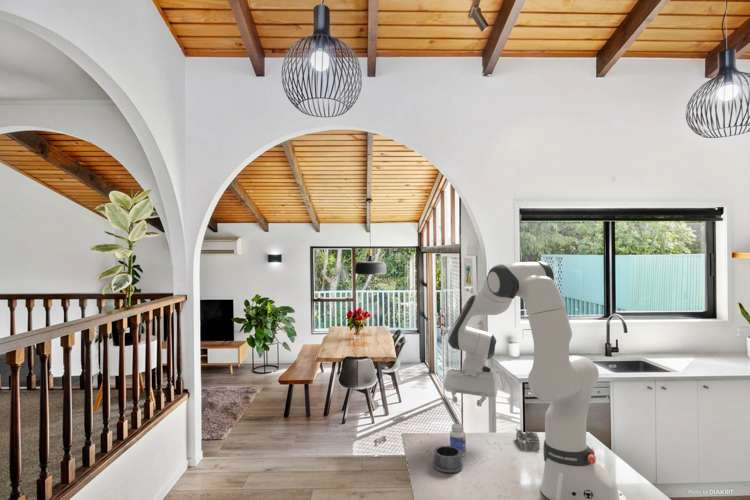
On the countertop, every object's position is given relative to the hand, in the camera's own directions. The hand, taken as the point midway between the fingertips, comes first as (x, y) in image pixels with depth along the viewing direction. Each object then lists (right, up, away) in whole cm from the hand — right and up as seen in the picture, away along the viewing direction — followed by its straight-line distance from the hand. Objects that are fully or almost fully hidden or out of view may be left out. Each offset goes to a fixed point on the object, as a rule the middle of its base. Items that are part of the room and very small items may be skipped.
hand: (466, 403), depth 164 cm
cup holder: (-10, -14, -20) cm, 26 cm away
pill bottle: (-5, -14, -10) cm, 18 cm away
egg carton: (+22, -14, -2) cm, 27 cm away
